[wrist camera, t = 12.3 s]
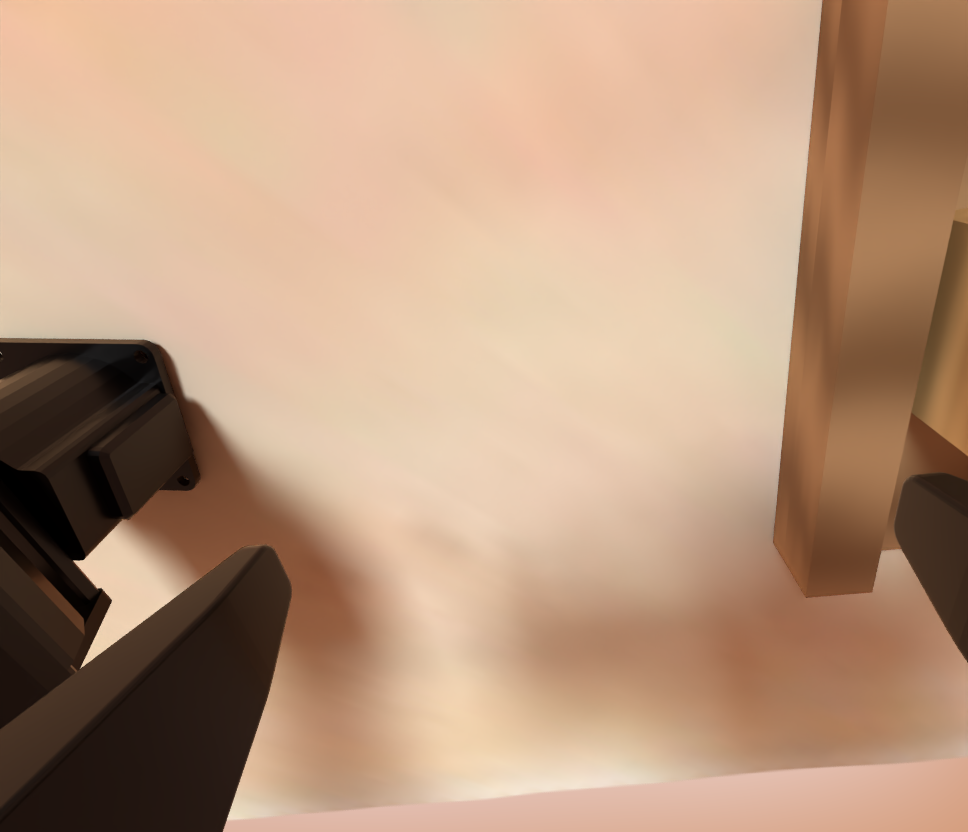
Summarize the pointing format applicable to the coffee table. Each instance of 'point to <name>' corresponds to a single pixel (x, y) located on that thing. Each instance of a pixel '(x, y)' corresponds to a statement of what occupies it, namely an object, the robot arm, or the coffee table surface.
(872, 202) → the walnut rail
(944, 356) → the oak stave
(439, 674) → the coffee table surface
